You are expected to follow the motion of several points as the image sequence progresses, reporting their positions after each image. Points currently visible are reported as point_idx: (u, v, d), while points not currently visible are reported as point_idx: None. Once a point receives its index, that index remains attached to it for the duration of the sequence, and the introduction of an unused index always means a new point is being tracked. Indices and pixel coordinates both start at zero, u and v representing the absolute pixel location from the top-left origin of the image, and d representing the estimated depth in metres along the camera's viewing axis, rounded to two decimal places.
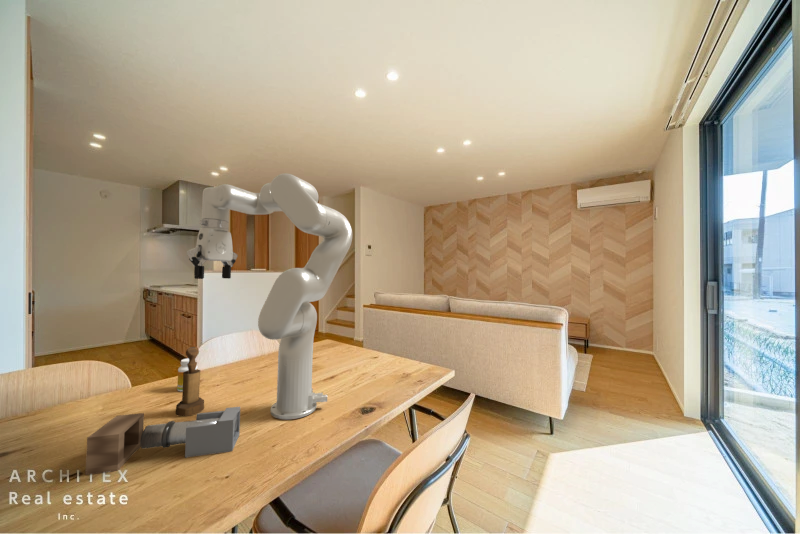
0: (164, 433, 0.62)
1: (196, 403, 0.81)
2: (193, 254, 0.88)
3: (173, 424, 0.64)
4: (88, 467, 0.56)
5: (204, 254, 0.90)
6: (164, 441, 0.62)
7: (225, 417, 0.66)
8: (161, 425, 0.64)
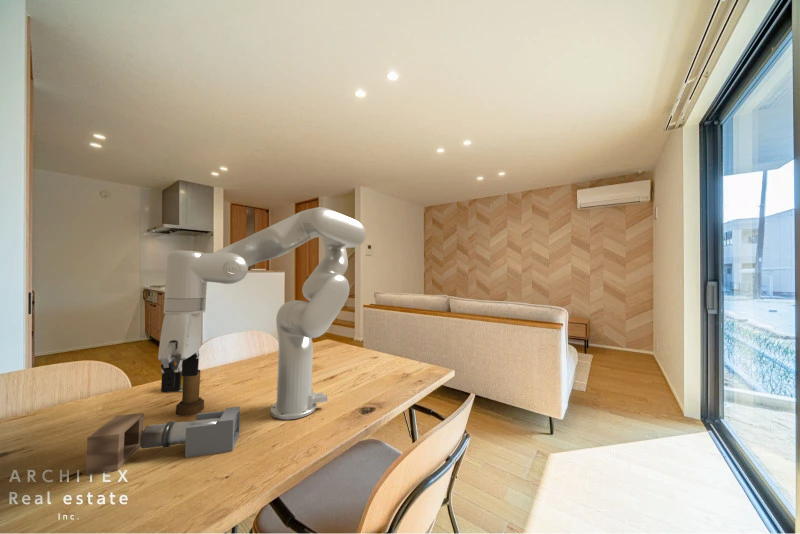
0: (164, 433, 0.62)
1: (196, 403, 0.81)
2: None
3: (173, 424, 0.64)
4: (88, 467, 0.56)
5: None
6: (164, 441, 0.62)
7: (225, 417, 0.66)
8: (161, 425, 0.64)
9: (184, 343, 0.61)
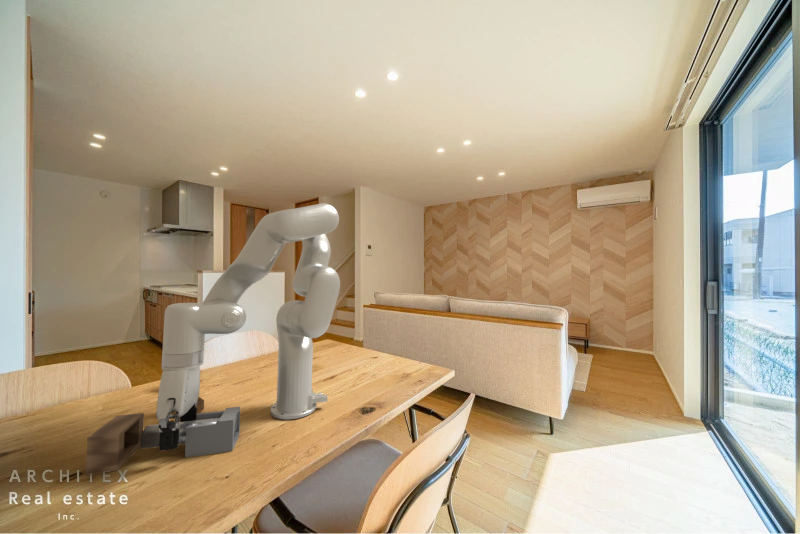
0: None
1: None
2: None
3: None
4: (88, 467, 0.56)
5: None
6: None
7: (225, 417, 0.66)
8: None
9: (182, 400, 0.61)
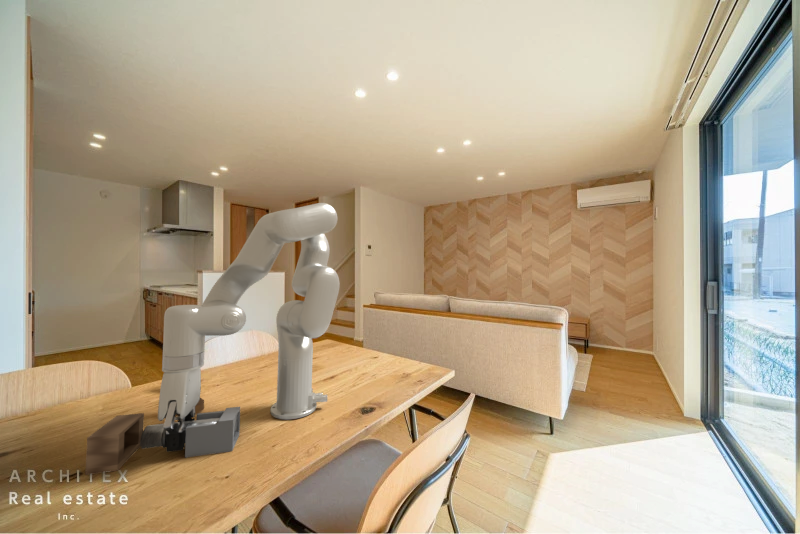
0: (164, 433, 0.62)
1: None
2: None
3: None
4: (88, 467, 0.56)
5: None
6: (164, 441, 0.62)
7: (225, 417, 0.66)
8: (161, 425, 0.64)
9: (183, 402, 0.61)
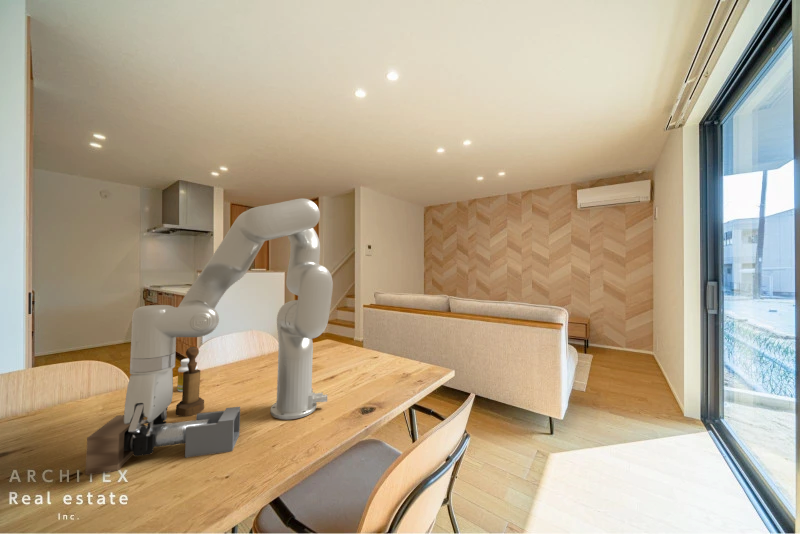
0: (131, 437, 0.60)
1: (196, 403, 0.81)
2: None
3: None
4: (88, 467, 0.56)
5: None
6: (131, 445, 0.60)
7: (225, 417, 0.66)
8: None
9: (151, 405, 0.59)
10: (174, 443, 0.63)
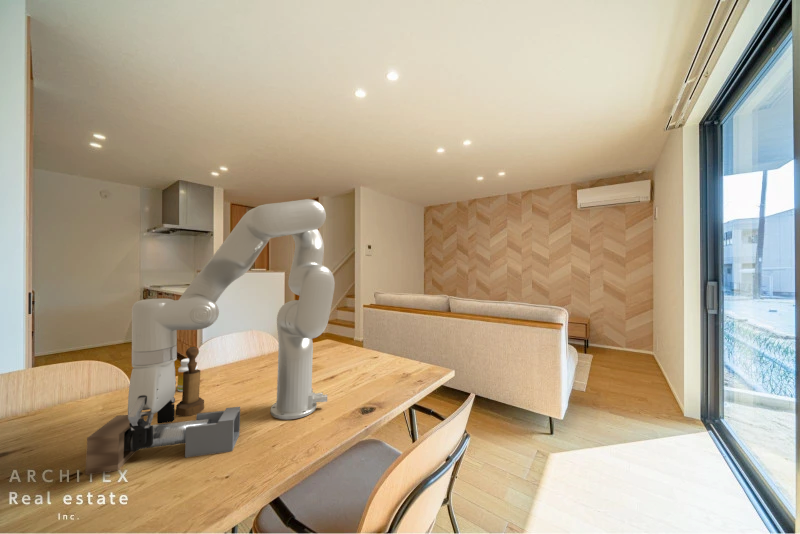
0: None
1: (196, 403, 0.81)
2: None
3: None
4: (88, 467, 0.56)
5: None
6: None
7: (225, 417, 0.66)
8: (129, 428, 0.62)
9: (154, 397, 0.60)
10: (174, 443, 0.63)
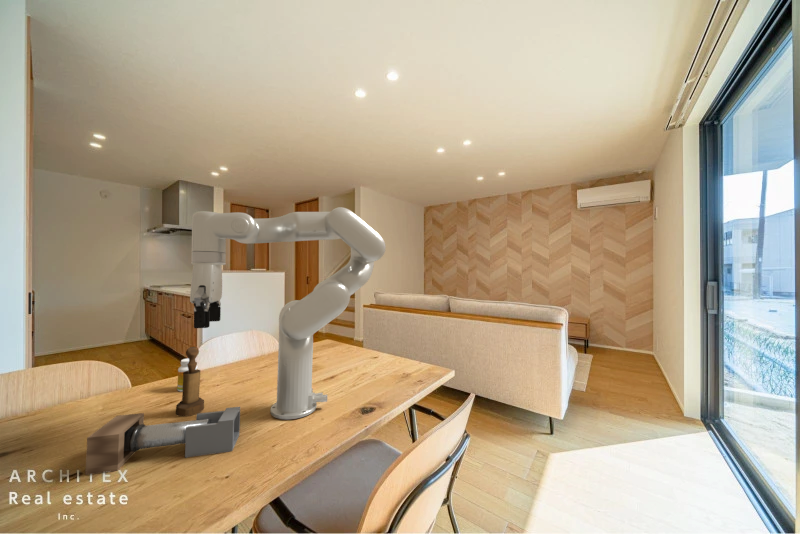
0: (132, 437, 0.60)
1: (196, 403, 0.81)
2: None
3: (142, 427, 0.62)
4: (88, 467, 0.56)
5: None
6: (132, 445, 0.60)
7: (225, 417, 0.66)
8: (129, 428, 0.62)
9: (211, 288, 0.73)
10: (174, 443, 0.63)
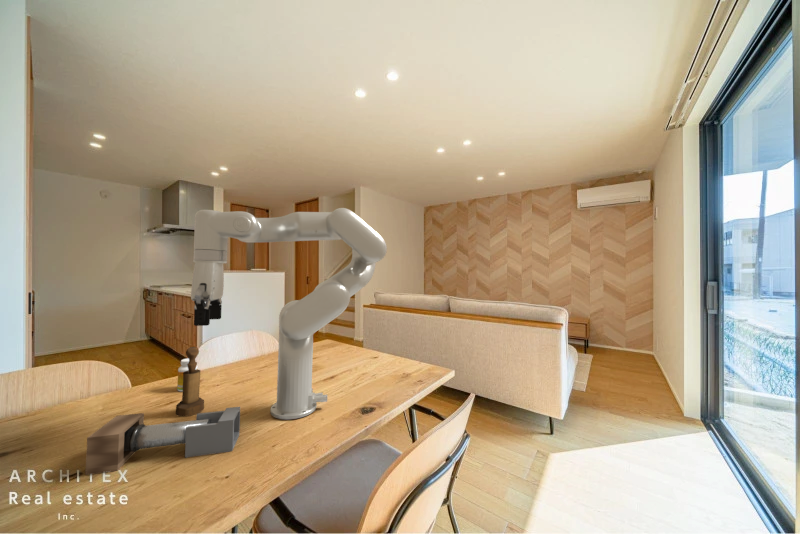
0: (132, 437, 0.60)
1: (196, 403, 0.81)
2: None
3: (142, 427, 0.62)
4: (88, 467, 0.56)
5: None
6: (132, 445, 0.60)
7: (225, 417, 0.66)
8: (129, 428, 0.62)
9: (212, 286, 0.73)
10: (174, 443, 0.63)
